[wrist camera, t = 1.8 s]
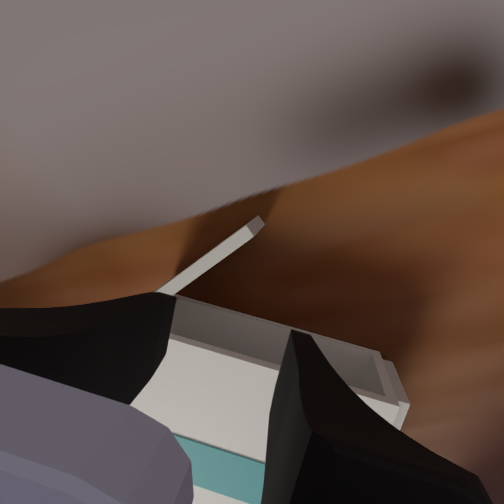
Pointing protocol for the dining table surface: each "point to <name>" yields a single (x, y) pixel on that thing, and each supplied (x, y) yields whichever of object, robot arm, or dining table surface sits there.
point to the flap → (212, 257)
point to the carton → (243, 393)
